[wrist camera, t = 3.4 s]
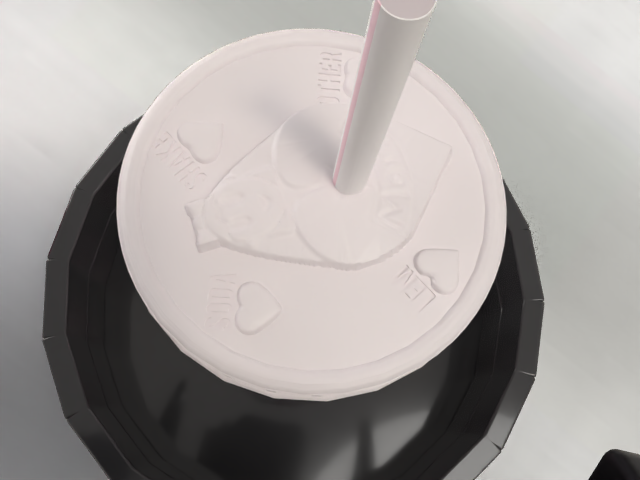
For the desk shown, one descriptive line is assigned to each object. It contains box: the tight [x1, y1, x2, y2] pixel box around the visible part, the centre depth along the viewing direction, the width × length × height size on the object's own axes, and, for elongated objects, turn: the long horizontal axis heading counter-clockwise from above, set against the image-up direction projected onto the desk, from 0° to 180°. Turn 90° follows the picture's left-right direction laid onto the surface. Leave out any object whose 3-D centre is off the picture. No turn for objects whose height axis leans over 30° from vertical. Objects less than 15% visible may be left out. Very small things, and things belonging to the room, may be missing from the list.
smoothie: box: [117, 0, 507, 402], centre depth 12 cm, size 6×6×14 cm
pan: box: [43, 115, 544, 480], centre depth 17 cm, size 13×13×4 cm
